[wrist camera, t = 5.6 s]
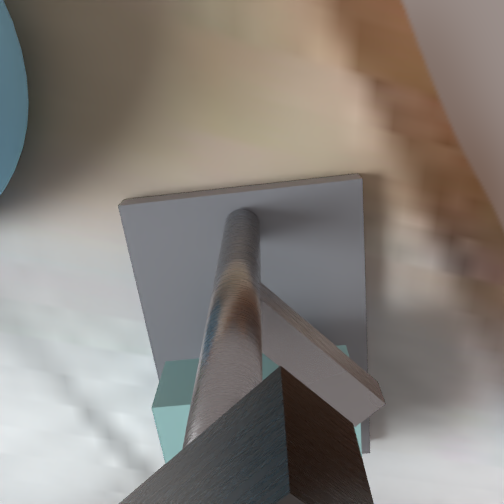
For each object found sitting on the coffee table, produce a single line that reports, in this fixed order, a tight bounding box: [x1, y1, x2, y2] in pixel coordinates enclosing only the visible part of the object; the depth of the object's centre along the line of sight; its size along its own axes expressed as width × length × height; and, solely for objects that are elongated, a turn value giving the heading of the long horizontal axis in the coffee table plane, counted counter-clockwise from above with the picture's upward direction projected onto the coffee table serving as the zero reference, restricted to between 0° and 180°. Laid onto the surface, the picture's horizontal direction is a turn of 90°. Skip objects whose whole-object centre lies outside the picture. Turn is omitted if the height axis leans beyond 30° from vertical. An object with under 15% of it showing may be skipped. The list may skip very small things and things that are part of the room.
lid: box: [152, 345, 362, 464], centre depth 21 cm, size 8×8×3 cm
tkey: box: [119, 209, 386, 504], centre depth 15 cm, size 7×5×16 cm
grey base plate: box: [118, 173, 370, 454], centre depth 23 cm, size 16×11×4 cm
